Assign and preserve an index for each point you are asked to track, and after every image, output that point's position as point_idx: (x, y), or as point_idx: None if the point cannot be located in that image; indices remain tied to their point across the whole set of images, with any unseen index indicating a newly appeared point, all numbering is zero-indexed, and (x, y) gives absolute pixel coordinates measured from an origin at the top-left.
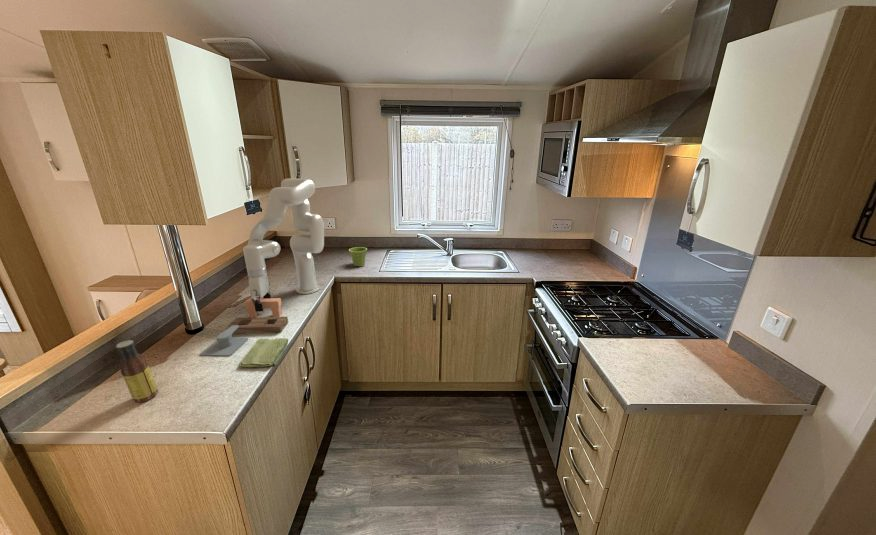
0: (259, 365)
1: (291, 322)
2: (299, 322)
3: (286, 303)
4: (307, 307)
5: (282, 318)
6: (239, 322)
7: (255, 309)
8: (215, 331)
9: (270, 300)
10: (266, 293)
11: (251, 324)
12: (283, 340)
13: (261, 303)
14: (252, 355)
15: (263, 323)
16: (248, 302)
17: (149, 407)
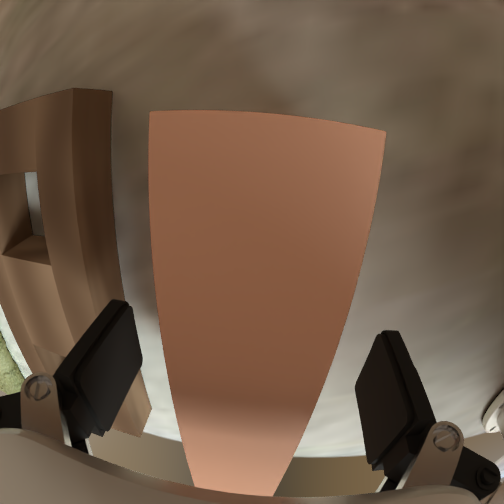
0: None
1: (153, 416)
2: (157, 435)
3: (440, 362)
4: (325, 451)
5: (114, 421)
6: (12, 172)
7: (101, 314)
8: (45, 9)
9: (216, 472)
10: (400, 469)
11: (11, 279)
12: (9, 392)
13: (94, 430)
14: None
15: (39, 344)
16: (155, 224)
17: None
